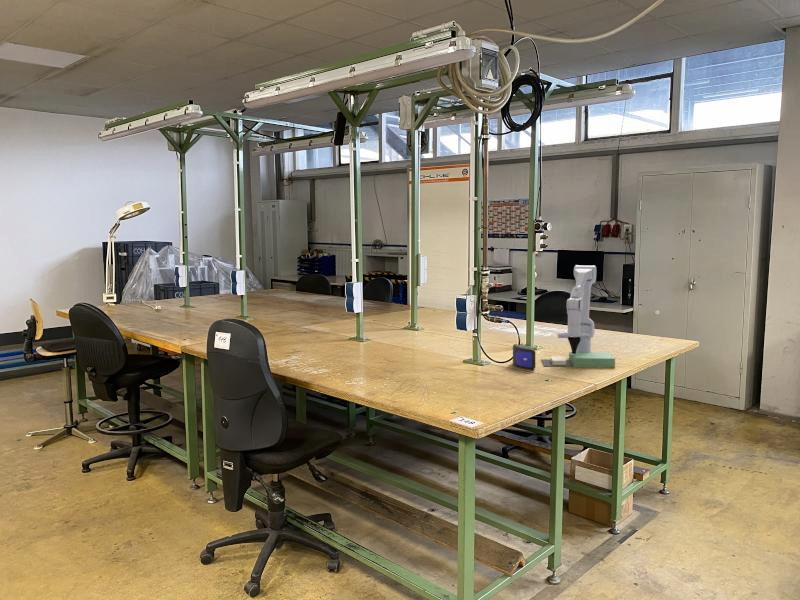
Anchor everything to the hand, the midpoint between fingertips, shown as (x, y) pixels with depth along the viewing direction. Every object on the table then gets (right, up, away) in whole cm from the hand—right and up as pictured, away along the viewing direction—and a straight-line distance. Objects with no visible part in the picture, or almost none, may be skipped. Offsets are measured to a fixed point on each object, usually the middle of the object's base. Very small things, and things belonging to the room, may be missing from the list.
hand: (573, 353), depth 282 cm
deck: (+8, -5, 0) cm, 9 cm away
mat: (-7, -5, +2) cm, 9 cm away
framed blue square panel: (-24, -6, -4) cm, 25 cm away
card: (-7, -2, +1) cm, 7 cm away
